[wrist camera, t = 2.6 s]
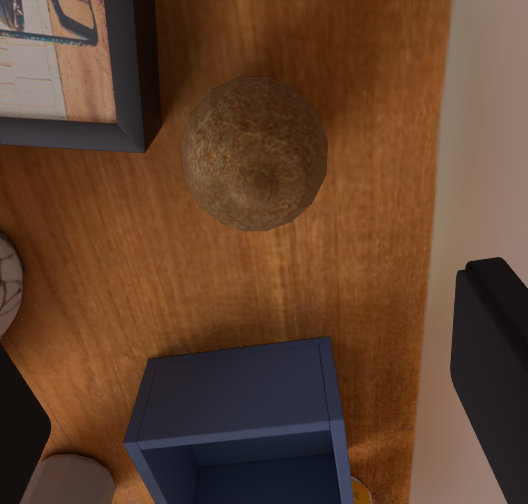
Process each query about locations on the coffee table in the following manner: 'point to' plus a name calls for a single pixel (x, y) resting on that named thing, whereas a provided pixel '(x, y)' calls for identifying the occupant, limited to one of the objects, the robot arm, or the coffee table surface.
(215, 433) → the blue bin
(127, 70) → the framed painting
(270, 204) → the fruit
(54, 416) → the coffee table surface
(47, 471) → the water bottle
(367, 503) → the beer can
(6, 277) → the sculpture
